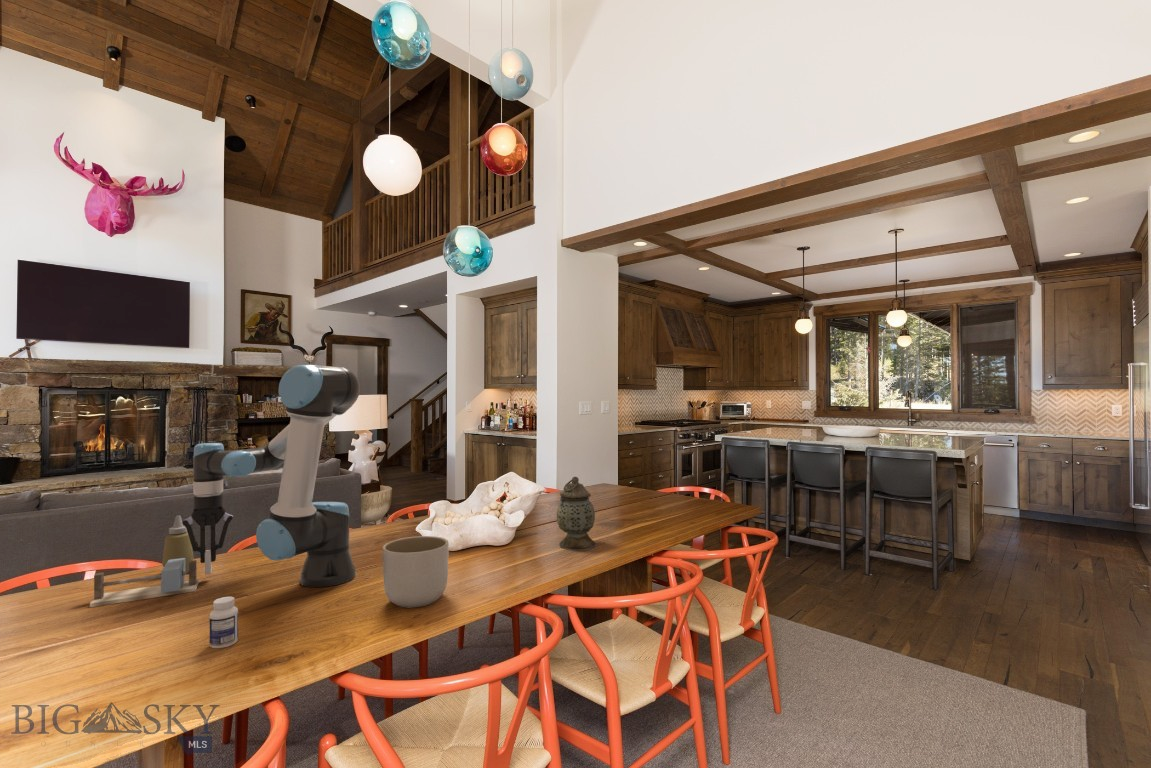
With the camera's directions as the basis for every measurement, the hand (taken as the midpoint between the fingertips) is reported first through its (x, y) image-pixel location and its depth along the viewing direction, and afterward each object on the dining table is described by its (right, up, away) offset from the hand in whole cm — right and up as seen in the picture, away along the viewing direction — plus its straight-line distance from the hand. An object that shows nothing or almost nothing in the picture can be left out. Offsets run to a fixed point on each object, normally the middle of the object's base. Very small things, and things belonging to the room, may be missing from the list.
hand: (208, 572), depth 163 cm
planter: (+68, -1, -18) cm, 71 cm away
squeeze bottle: (-15, -3, +8) cm, 17 cm away
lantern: (+111, -2, +34) cm, 116 cm away
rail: (-10, -2, -11) cm, 15 cm away
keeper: (-5, -1, -8) cm, 9 cm away
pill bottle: (+32, -1, -42) cm, 53 cm away
